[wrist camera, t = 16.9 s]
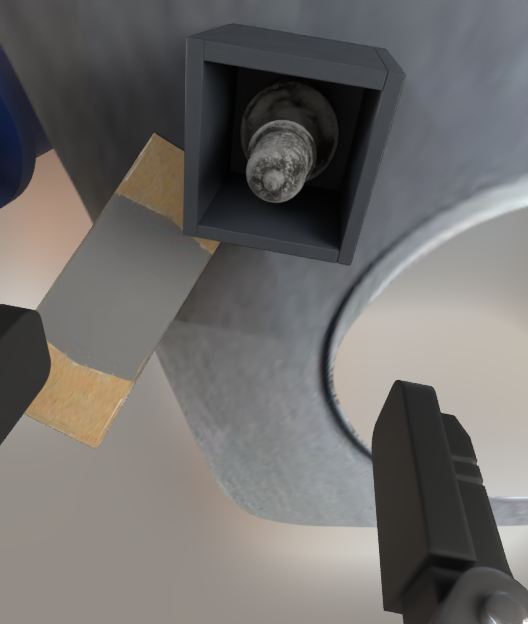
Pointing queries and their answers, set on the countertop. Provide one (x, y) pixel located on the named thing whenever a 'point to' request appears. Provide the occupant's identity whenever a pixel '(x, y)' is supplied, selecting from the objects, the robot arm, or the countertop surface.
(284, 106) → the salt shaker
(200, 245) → the sandwich container
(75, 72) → the countertop surface
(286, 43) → the trash bin
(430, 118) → the countertop surface
